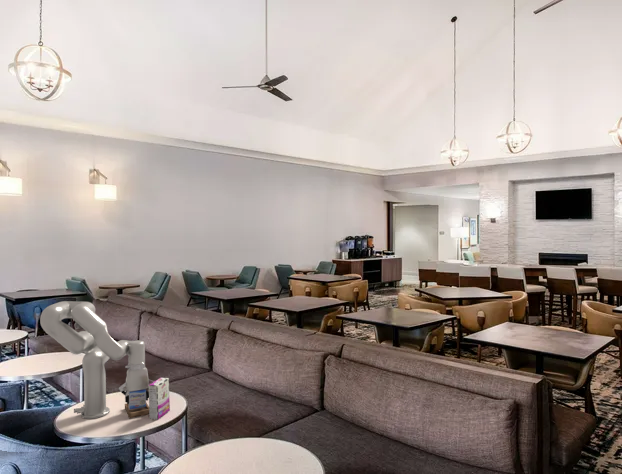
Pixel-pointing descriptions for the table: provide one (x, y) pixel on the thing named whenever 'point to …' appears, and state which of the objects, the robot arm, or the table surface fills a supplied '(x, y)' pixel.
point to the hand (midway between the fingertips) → (137, 401)
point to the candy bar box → (159, 398)
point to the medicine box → (137, 399)
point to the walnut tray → (137, 411)
